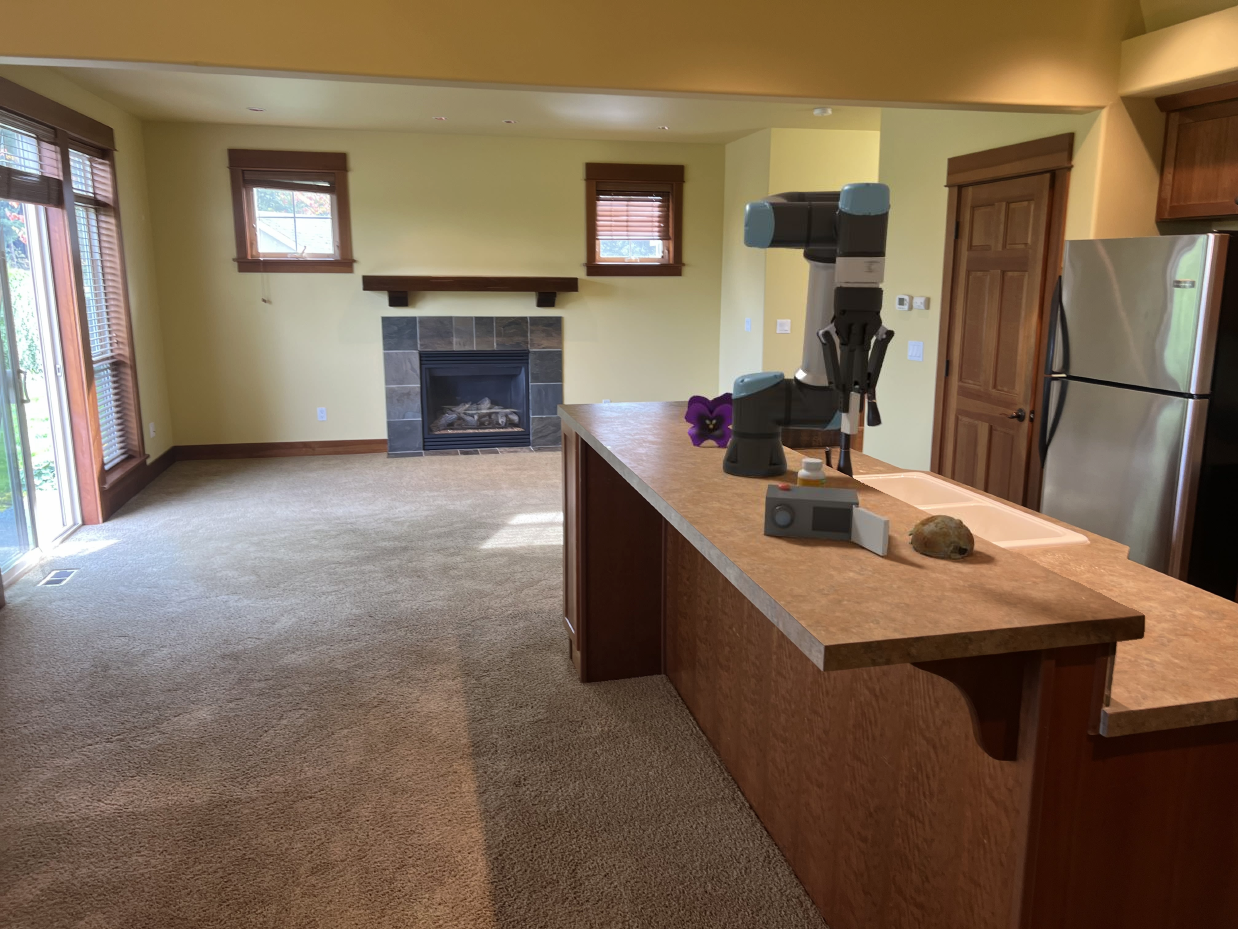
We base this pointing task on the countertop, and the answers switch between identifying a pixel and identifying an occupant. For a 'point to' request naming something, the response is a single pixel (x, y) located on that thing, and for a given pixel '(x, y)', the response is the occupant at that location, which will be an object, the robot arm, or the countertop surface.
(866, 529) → the side door
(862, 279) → the robot arm
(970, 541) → the bread roll
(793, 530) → the box with round dial
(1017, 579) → the countertop surface
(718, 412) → the flower
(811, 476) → the supplement bottle
